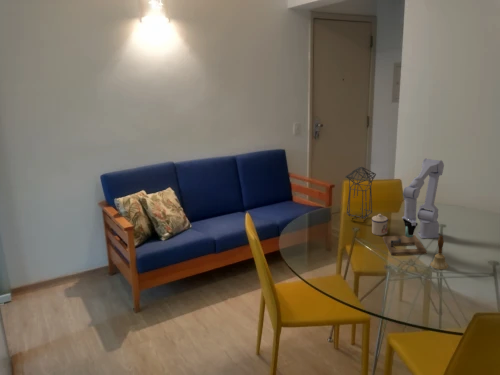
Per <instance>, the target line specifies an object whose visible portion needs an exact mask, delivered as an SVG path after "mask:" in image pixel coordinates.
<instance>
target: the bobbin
mask: <svg viewBox="0 0 500 375" xmlns="http://www.w3.org/2000/svg"><path fill="white" fill-rule="evenodd" d="M413 235H414V234H413ZM413 235H409V234H408V227H407V226H406V228H405V234H404V236H406V237H413Z"/></svg>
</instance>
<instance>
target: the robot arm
mask: <svg viewBox="0 0 500 375" xmlns="http://www.w3.org/2000/svg"><path fill="white" fill-rule="evenodd" d="M444 166H445V164H444V161H443V160H442V159H441V160H438V159H431V158H424V159H423V160H422V162H421V170H420V172H419V174H418V176H416V177H414V178H413V179H412V180H411V182H410V183H409V186H405V188H403V191H402V196H403V200H404V213H403V214H404V215H403V216H401V219H402V221H403V223H404V227H405V229H406V226H407V227H408V234H409V235H414V233H415V230H416V228H417V226H418V225H419V231H417V234H418V235H419V237H420V238H421V239H439V237H440V235H439V233H440V232H439V230H440V225H439V224H440V223H439V221H438V218H439V209H438V207H437V206H435V201H436V194H437V192H438V191H437V190H438V186H439V185H438V184H439V179H440V176H442V175H443V172H444ZM428 176H429V178H428V182H427V187H426V188H427V189H426V193H425V200H424V203H423V204H421V205H419V208H418V210H417V206H418V205H417V199H418V198H419V196H420V193H421V189H422V188H423V186H424V185H425V180H426V178H427V177H428ZM417 219H419V220H418V221H419V222H420V224H418V222H417Z"/></svg>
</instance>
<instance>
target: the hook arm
mask: <svg viewBox="0 0 500 375" xmlns="http://www.w3.org/2000/svg"><path fill="white" fill-rule="evenodd" d="M394 243H401V238H398V240H391V247H393V244H394Z"/></svg>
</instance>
